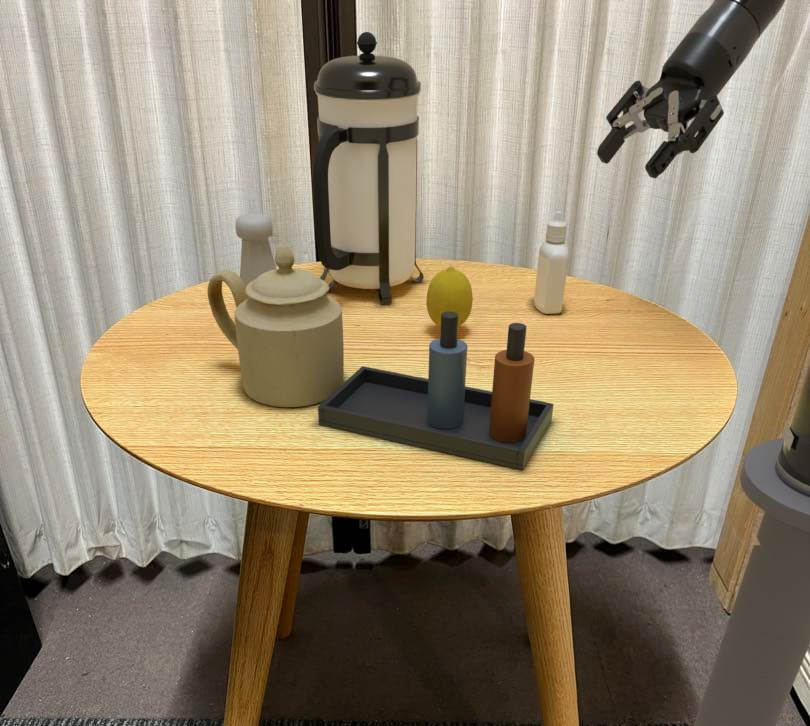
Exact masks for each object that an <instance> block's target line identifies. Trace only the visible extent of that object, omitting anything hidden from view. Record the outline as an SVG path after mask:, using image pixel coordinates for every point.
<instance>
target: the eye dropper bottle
mask: <svg viewBox="0 0 810 726" xmlns="http://www.w3.org/2000/svg"><path fill="white" fill-rule="evenodd" d="M562 213H563V212H562V211H561V210H557V211H555V213H554V216H553V219H552V220H551V221H548V222H547V224H546V231H545V232H546V233H545V240H544V241H542V242H541V244H540V246H539V251H538V258H537V259H538V260H537V267H536V279H535V286H534V296H533V297H534V298H533V300H534V301H533V303H534V304H533V305H534V307H535V308H536V309H537V310H538V311H539V312H541V313H543V314H545V315H546V314H547V315H550V314H551V315H552V314H553V315H554V314H556V315H557V314H561V312H562V309H563V307H564V306H563V305H564V296H565V289H566V281H567V275H568V273H567V272H568V265H569V257H570V256H569V255H570V251H569V247H568V245H567V243H566V242H565V241H566V237H567V230H568V229H567V228H568V224H567V222H565V221H564V220H563V214H562Z"/></svg>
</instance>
